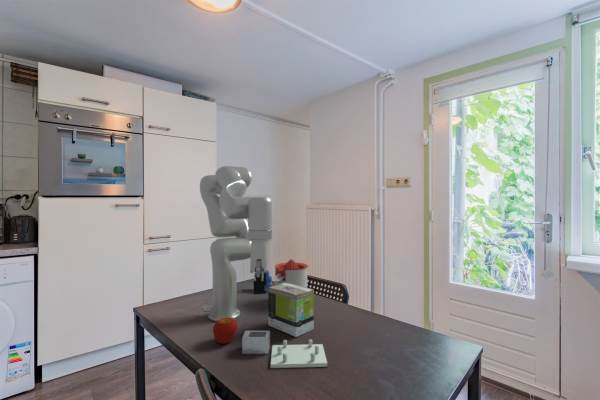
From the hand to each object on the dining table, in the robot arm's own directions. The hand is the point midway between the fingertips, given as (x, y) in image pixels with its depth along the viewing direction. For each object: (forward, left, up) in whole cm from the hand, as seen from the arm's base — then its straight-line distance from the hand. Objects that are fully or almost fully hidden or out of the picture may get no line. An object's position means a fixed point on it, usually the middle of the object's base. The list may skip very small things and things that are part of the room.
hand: (260, 289), depth 92 cm
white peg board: (+12, -6, -19) cm, 23 cm away
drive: (-1, -1, -19) cm, 19 cm away
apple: (-12, +5, -19) cm, 23 cm away
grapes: (-4, +60, -19) cm, 63 cm away
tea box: (+10, +15, -19) cm, 26 cm away
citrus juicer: (+10, +42, -19) cm, 47 cm away
